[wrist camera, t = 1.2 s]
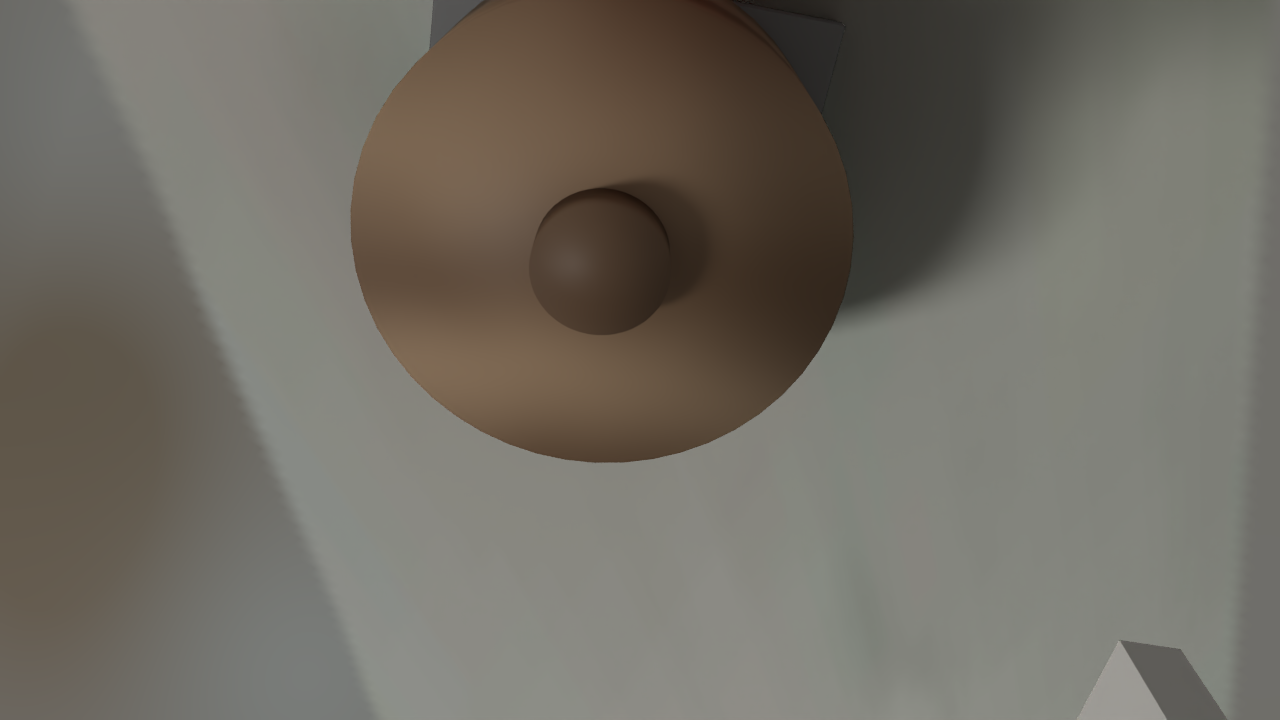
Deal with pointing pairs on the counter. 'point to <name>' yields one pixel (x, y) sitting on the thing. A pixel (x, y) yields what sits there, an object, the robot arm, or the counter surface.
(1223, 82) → the counter surface
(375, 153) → the lid
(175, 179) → the counter surface
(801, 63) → the mat
